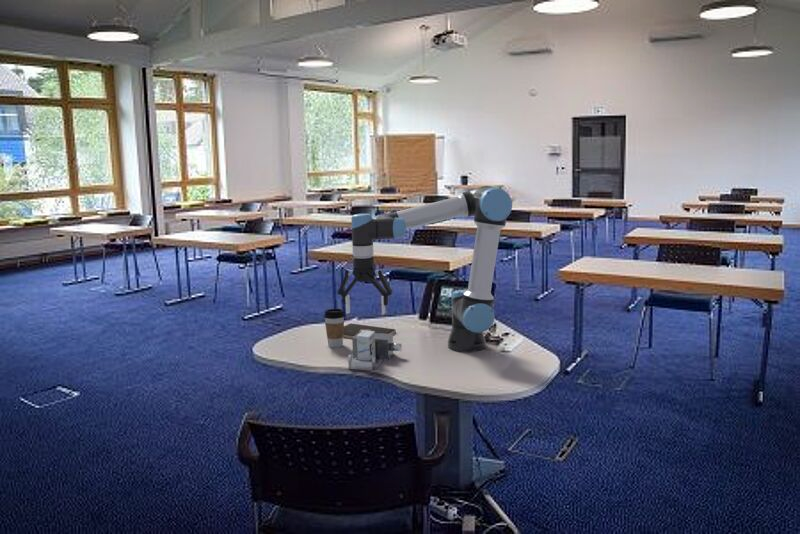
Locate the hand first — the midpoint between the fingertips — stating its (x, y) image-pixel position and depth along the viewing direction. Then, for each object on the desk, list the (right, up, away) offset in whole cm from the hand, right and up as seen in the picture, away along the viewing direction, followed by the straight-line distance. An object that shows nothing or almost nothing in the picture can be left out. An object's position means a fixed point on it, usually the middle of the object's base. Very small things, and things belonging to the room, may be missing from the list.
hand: (365, 313), depth 246 cm
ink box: (0, -19, +3) cm, 20 cm away
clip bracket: (0, -19, +3) cm, 19 cm away
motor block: (+4, -17, +12) cm, 22 cm away
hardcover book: (-3, -13, +43) cm, 45 cm away
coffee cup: (-14, -15, +27) cm, 34 cm away
